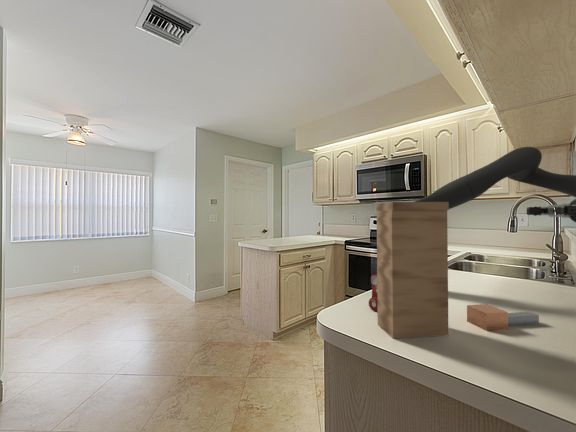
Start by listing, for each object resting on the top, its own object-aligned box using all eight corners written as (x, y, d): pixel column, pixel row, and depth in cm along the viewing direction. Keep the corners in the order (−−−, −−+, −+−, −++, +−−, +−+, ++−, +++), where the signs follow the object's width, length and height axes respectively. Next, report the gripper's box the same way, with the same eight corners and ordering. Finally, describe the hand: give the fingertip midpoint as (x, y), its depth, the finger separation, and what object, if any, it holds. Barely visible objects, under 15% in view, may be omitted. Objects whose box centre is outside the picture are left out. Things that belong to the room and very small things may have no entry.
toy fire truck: (399, 321, 71) (399, 283, 71) (364, 308, 82) (364, 274, 82) (414, 316, 75) (414, 280, 75) (379, 304, 85) (379, 272, 85)
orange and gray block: (467, 321, 70) (466, 305, 71) (522, 318, 73) (522, 302, 73) (486, 331, 65) (486, 313, 65) (546, 327, 67) (546, 309, 67)
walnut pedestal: (376, 323, 69) (375, 203, 69) (426, 321, 71) (424, 203, 71) (394, 339, 60) (392, 202, 61) (449, 336, 62) (448, 201, 62)
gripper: (566, 198, 78) (517, 198, 77) (633, 194, 64) (575, 194, 63) (566, 223, 78) (518, 223, 77) (634, 224, 64) (576, 225, 63)
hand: (544, 210), depth 70 cm, fingers open, 8 cm apart
